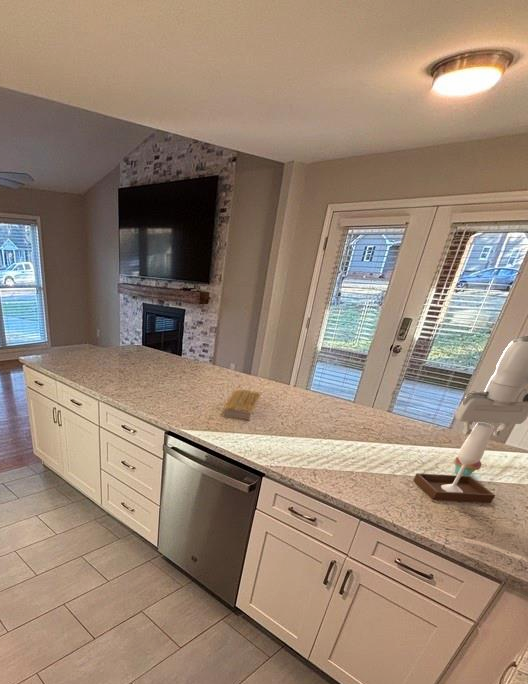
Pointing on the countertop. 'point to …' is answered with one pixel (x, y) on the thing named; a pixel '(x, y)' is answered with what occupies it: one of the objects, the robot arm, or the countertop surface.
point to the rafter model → (241, 404)
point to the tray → (466, 483)
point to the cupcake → (468, 469)
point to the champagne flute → (471, 451)
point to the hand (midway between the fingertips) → (480, 434)
